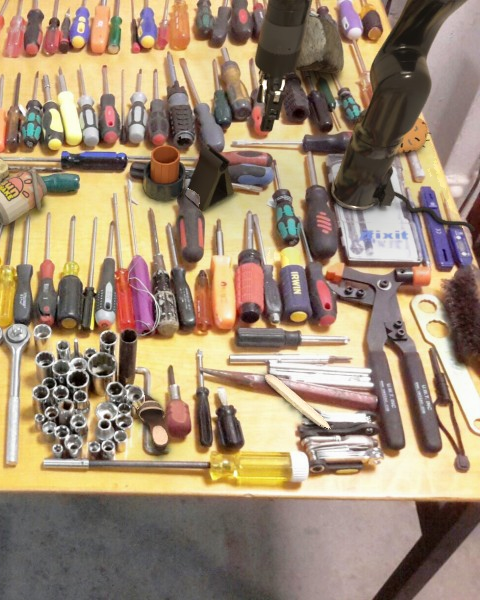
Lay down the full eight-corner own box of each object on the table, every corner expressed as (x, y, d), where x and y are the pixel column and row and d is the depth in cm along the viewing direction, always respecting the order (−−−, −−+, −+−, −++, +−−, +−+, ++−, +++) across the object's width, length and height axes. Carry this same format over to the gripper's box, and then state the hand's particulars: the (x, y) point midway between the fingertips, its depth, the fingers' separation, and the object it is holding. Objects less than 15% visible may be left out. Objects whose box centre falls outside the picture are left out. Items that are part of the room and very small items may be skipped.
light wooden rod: (326, 435, 105) (328, 431, 103) (261, 379, 111) (263, 375, 110) (332, 430, 105) (334, 425, 104) (267, 374, 112) (269, 369, 110)
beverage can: (11, 237, 135) (54, 208, 139) (5, 211, 128) (51, 181, 132) (-14, 212, 139) (28, 185, 143) (-21, 186, 132) (24, 158, 136)
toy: (415, 116, 145) (424, 102, 140) (434, 151, 141) (445, 137, 137) (364, 129, 145) (372, 115, 140) (383, 164, 141) (391, 151, 136)
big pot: (183, 173, 142) (185, 156, 138) (184, 202, 137) (186, 186, 133) (143, 173, 143) (144, 156, 139) (143, 202, 138) (143, 185, 134)
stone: (269, 31, 154) (299, 32, 164) (288, 88, 155) (316, 86, 165) (316, 3, 145) (344, 6, 155) (336, 64, 145) (362, 63, 155)
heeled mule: (157, 394, 111) (157, 384, 108) (176, 451, 105) (177, 442, 102) (132, 400, 111) (132, 390, 108) (151, 458, 105) (150, 449, 101)
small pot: (177, 176, 141) (179, 145, 134) (177, 195, 138) (180, 164, 130) (150, 176, 142) (151, 145, 134) (150, 195, 138) (151, 164, 131)
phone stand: (201, 211, 135) (207, 170, 125) (184, 195, 138) (188, 154, 128) (233, 193, 137) (241, 151, 128) (215, 178, 141) (222, 136, 131)
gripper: (308, 64, 104) (287, 140, 118) (298, 16, 112) (280, 92, 126) (262, 64, 105) (246, 140, 118) (255, 16, 113) (241, 92, 126)
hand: (263, 115), depth 122 cm, fingers open, 8 cm apart
